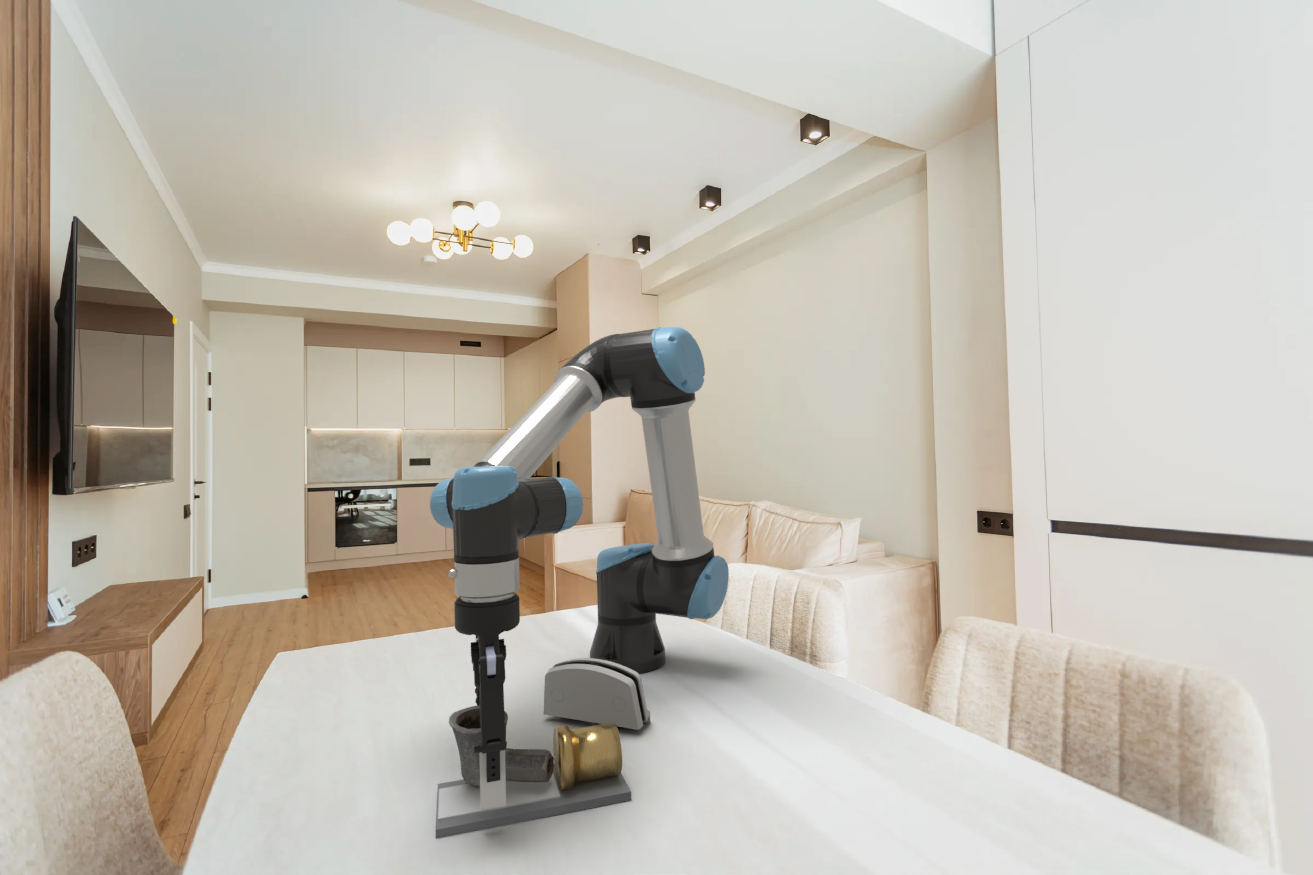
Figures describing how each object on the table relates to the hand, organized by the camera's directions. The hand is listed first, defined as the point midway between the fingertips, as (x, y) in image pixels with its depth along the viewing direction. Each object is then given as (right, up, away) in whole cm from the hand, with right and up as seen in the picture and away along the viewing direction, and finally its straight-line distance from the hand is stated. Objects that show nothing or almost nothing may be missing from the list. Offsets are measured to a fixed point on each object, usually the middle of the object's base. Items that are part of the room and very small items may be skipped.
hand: (490, 780), depth 75 cm
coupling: (+12, -3, +4) cm, 13 cm away
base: (+5, -3, +1) cm, 6 cm away
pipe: (+1, -1, +3) cm, 3 cm away
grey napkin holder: (+11, -4, +22) cm, 25 cm away
